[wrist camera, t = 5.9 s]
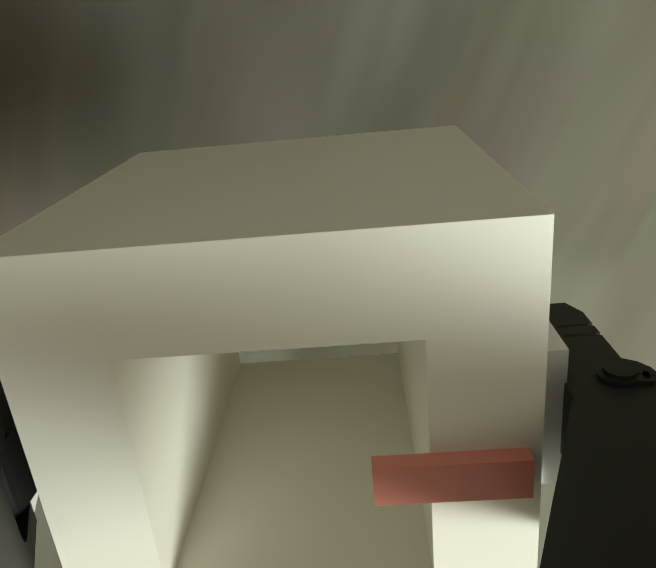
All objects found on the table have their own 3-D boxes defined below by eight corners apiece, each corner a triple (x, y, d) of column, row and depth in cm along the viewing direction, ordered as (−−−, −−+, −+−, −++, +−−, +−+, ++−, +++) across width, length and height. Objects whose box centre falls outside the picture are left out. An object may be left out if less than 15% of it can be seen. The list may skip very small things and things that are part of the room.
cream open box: (193, 416, 19) (88, 680, 11) (140, 152, 16) (-53, 268, 8) (458, 399, 18) (537, 664, 11) (454, 125, 15) (561, 220, 8)
